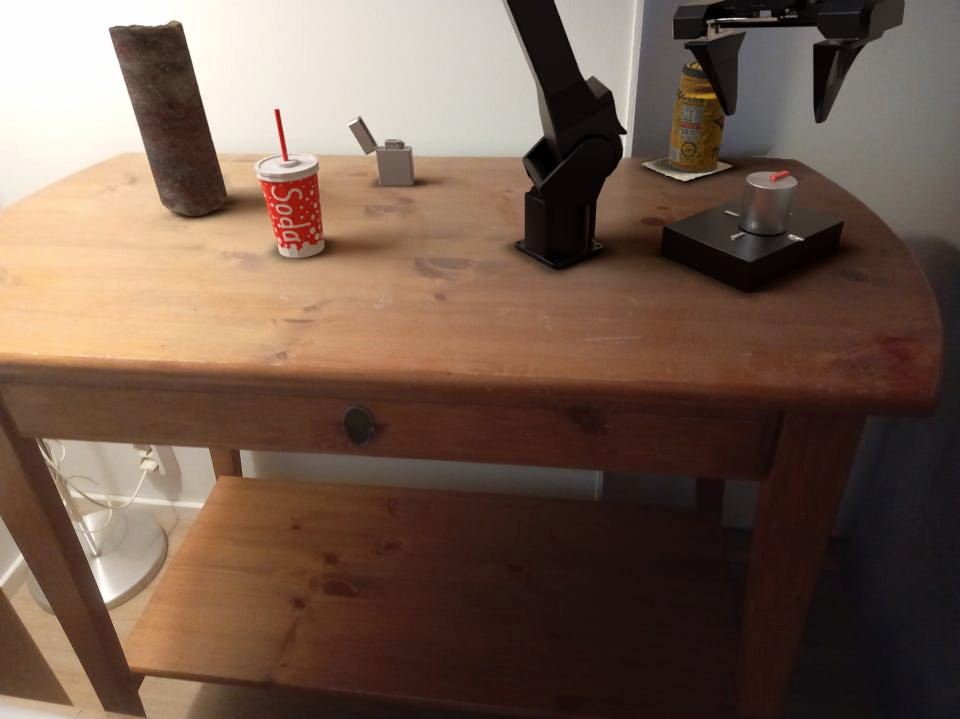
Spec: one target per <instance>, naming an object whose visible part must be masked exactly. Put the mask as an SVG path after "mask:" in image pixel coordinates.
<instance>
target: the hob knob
mask: <svg viewBox="0 0 960 719" xmlns="http://www.w3.org/2000/svg"><path fill="white" fill-rule="evenodd" d="M797 187H798V180H797V179H796V178H795V177H794V176H791V175H790V171H788V170H782V171H779V172H778V171H777V172H776V171H757V172H753V173H750V174H748V175H747V176H746V179H745V183H744V189H743V195H742V196H743V200H742V206H741V212H740V218H739V226H740V227H741V228H742V229H744V230H746V231H748V232H751V233H755V234H760V235H777V234H781V233H784V232H785V231H786V230H787V229H788V225H789V220H790V216H791V211H792V206H793V203H794V201H795V198H796V197H795V196H796V193H797V192H796V191H797Z"/></svg>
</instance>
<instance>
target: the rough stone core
mask: <svg viewBox="0 0 960 719" xmlns="http://www.w3.org/2000/svg"><path fill="white" fill-rule="evenodd" d="M108 32H109V36H110V39H111V42H112V46H113V49H114V52H115V55H116V56H115V57H116V58H117V61H118V62H117V63H118V64H119V68H120V72H121V75H122V77H123V81H124V83H125V87H126V90H127V93H128V98H129V100H130V103H131V106H132V111H133V113H134V117H135V120H136V123H137V126H138V129H139V133H140V137H141V140H142V144H143V147H144V150H145V153H146V157H147V161H148V164H149V167H150V171H151V174H152V177H153V178H152V179H153V181H154V184H155V187H156V190H157V193H158V197H159V199H160V203H161V204H162V206H164V207H165V208H166V209H167V210H168V211H169V212H173V213H178V214H181V215H186V216H187V217H200V216H204V215H206V214H209V213H210V212H211V211H214V210H217V209H220V208H221V207H222V205H223V204H224V202H225V200H226V199H227V198H228V192H227V188H226V184H225V179H224V176H223V172H222V169H221V166H220V162H219V158H218V154H217V151H216V146H215V144H214V140H213V137H212V132H211V129H210V125H209V120H208V118H207V114H206V110H205V106H204V102H203V99H202V94H201V91H200V86H199V83H198V80H197V79H198V78H197V76H196V71H195V68H194V64H193V60H192V57H191V52H190V49H189V46H188V41H187V37H186V34H185V30H184V26H183V23H182V22H181V21H178V20H176V19H172V20H170V21H168V23H166V24H159V25H142V24H130V25H115V26H110V27H108Z"/></svg>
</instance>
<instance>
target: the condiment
mask: <svg viewBox="0 0 960 719" xmlns="http://www.w3.org/2000/svg"><path fill="white" fill-rule="evenodd" d="M679 82H680V84H679V86H678V87H677V89H676V92H675V99H674V106H673V115H672V124H671V134H670V142H669V149H668V150H669V151H668V156H667V157H661V158H659V159H655V160H652V161H646V162H643V163H641V165H642V166H645V167H646V168H649V169H651V170H654V171H656V172H658V173H660V174H663V175H665V176H669V177H671V178H674V179H676V180H680V181H683V182H687V181H689V180H694V179H695V178H699V177H702V176H707V175H711V174H714V173H717V172H721V171H725V170H727V169H729V168H732V167H733V165H731V164H729V163H727V162H726V163H724V162H722V161H719V157H720V152H721V146H722V140H723V132H724V127H725V121H726V120H725V119H726V115H725V114H724V111H723V109H722V107H721V105H720V103H719V101H718V99H717V97H716V95H715V93H714V91H713V89H712V87H711V85H710V83H709V81H708V79H707V77H706V75H705V73H704V72H703V70H702V68H701V67H700V65H699V63H698V62H697V60H695V61H690V62H687V63H685V64H683V66H682V69H681V77H680V80H679Z"/></svg>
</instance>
